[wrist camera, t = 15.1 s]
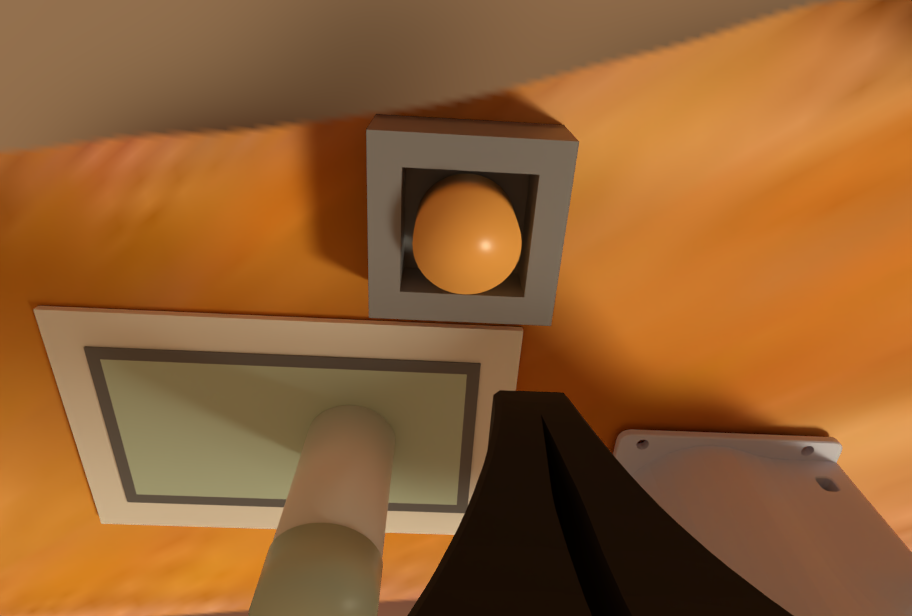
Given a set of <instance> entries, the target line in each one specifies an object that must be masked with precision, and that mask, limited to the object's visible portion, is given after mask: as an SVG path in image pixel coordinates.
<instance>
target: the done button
mask: <svg viewBox="0 0 912 616" xmlns="http://www.w3.org/2000/svg"><path fill="white" fill-rule="evenodd" d="M412 244H413V253H414V258H415V261H416V263H417V265H418V267H419V269H420V270H421V272H422V273H423V275H424V276H425V277H426V278H427V279H428V280H429V281H430V282H432V283H433V284H434V285H436V286H437V287H439V288H441V289H443V290H446V291H448V292H452V293H456V294H477V293H481V292H485V291H487V290H490V289H492V288H494V287H496V286H497V285H499V284H500V283H502V282H503V281H504V280H505V279H506V278H507V277H508V276H509V275H510V274H511V272H512V271H513V269H514V268H515V266H516V264H517V262H518V260H519V257H520V253H521V245H522V240H521V233H520V228H519V225H518V222H517V219H516V215H515V212H514V209H513V206H512V203H511V201H510V199H509V197H508V196H507V194H506V193H505V192H504V190H503V189H502V188H501V187H500V186H499V185H497V184H496V183H495V182H493V181H492V180H490V179H488V178H485V177H483V176H480V175H476V174H456V175H452V176H449V177H446V178H444V179H442V180H440V181H438V182H437V183H436V184H434V185H433V186H432V187H431V188H430V189H429V190H428V191H427V192H426V193H425V195H424V196H423V198H422V200H421V201H420V204H419V206H418V210H417V214H416V220H415V227H414V234H413V242H412Z"/></svg>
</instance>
